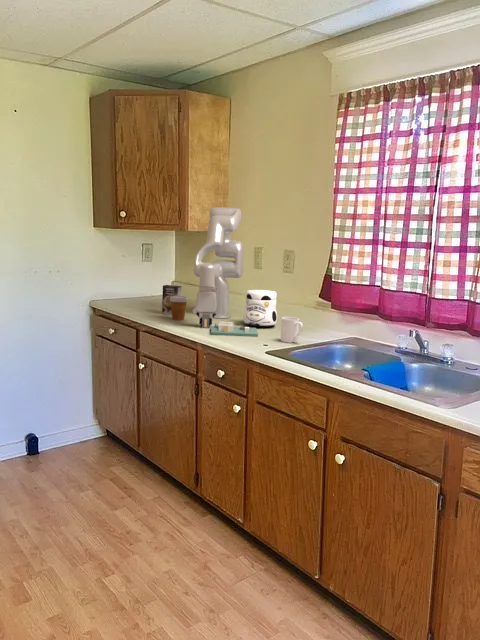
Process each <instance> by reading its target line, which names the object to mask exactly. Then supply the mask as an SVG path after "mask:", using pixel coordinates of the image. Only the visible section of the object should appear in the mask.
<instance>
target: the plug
mask: <svg viewBox="0 0 480 640" xmlns="http://www.w3.org/2000/svg"><path fill="white" fill-rule="evenodd" d="M209 315H210V312H202V326H201V328H202V329H209V328H210V327H209V318H210V317H209Z"/></svg>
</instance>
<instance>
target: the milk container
mask: <svg viewBox="0 0 480 640" xmlns="http://www.w3.org/2000/svg"><path fill="white" fill-rule="evenodd" d="M277 296H278V294H277V292H276V291H275V290H268V289H248V290H246V299H245V303H246V304H245V309H244V313H243V322H244V324H246V325H247V326H250V327H253V328H271V327H274V326H275V325H276V324H277V322H278V313H277V298H278V297H277Z"/></svg>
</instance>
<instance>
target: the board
mask: <svg viewBox="0 0 480 640" xmlns="http://www.w3.org/2000/svg"><path fill="white" fill-rule="evenodd" d="M210 327H211V328H210V329H211V330H210V335H211V336H228V337H229V336H230V337H231V336H234V337H255V338H257V337H259V332H258V330H257V327H249V326H234V321H218V323H214V325H210Z"/></svg>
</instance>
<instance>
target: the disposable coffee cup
mask: <svg viewBox="0 0 480 640" xmlns="http://www.w3.org/2000/svg"><path fill="white" fill-rule="evenodd" d="M170 302H171V312H172V315H171V320H173V321H184V320H185V315H186V309H187V303H188V297H187V296H183V295H181V296H171V297H170Z"/></svg>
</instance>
